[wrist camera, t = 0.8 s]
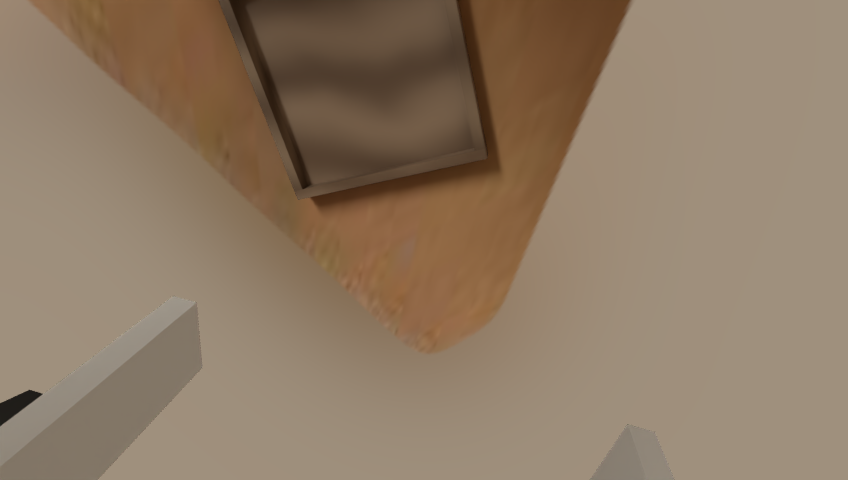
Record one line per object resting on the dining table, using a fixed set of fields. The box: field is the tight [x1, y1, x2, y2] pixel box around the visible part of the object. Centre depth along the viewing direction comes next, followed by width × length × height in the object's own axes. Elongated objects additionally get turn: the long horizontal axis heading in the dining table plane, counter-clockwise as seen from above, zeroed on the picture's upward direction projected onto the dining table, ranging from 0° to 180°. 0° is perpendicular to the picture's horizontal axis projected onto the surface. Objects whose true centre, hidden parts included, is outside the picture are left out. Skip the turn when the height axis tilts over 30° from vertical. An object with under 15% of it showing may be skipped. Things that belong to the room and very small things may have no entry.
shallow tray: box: [219, 0, 488, 200], centre depth 30 cm, size 17×17×2 cm
